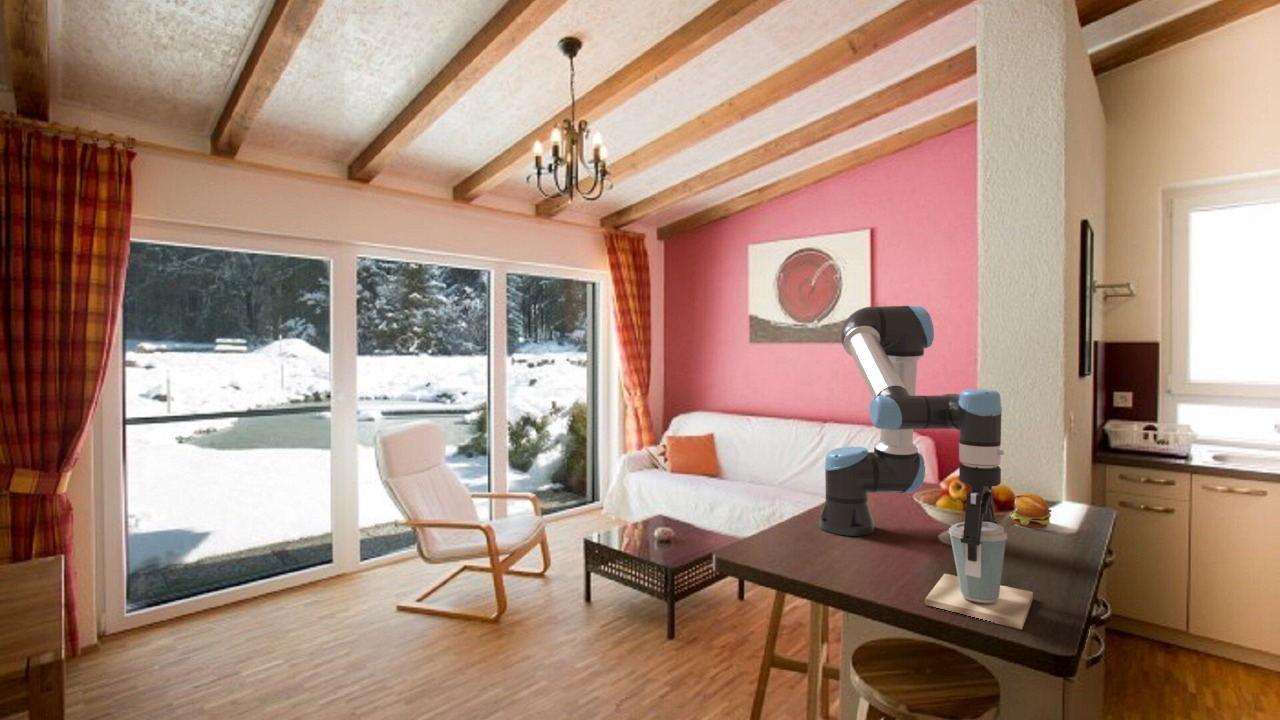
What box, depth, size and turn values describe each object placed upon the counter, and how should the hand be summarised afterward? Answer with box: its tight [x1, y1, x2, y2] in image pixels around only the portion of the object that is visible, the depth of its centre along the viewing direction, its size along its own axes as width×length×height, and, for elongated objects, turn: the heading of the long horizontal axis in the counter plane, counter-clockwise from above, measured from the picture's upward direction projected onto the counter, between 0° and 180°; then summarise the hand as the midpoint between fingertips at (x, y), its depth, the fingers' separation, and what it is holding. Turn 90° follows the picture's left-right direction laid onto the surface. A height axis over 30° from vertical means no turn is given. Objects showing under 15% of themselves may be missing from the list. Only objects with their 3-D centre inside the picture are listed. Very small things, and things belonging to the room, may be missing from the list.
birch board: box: [924, 573, 1034, 630], centre depth 126 cm, size 17×17×2 cm
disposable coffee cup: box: [947, 521, 1008, 603], centre depth 125 cm, size 11×11×15 cm
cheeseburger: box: [1010, 493, 1052, 529], centre depth 177 cm, size 10×11×10 cm
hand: (979, 565), depth 126 cm, fingers open, 13 cm apart
